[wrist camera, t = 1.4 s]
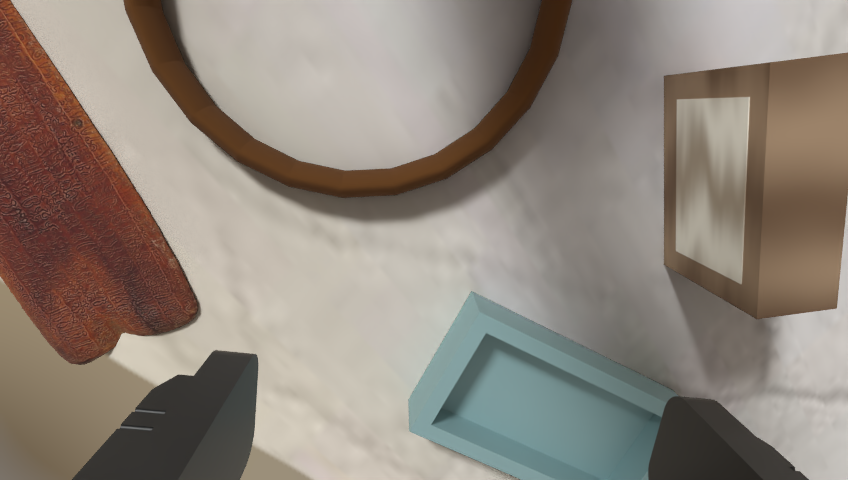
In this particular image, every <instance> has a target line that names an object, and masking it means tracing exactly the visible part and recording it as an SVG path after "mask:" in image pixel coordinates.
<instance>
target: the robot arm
mask: <svg viewBox="0 0 848 480" xmlns="http://www.w3.org/2000/svg"><path fill="white" fill-rule="evenodd" d="M257 379H258V357H257V355H256V354H249V353H238V352H228V351H218V350H215V351H213V352H212V353H211V355H210V356H209V357H208V358H207V360H206V361H205V362H204V364H203V365H202V366H201V367H200V369H199V370H198V371H197V373H196V374H195V375H194V376H188V375H177V376H175V377H173V378H172V379H170V380H168V381H166V382H164V383H163V384H161V385H159V386H157V387H155V388H154V389H152V390H151V391H150V393H149V394H148V395H147V396H146V397H145V398H144V399H143V400H142V402H141V403H140V404H139V405H138V406H137V407H136V409H135V412H132V413H131V414H130V415H129V416H128V417H127V418H126V419H125V421H124V422H123V423H122V424H121V427H120V429H116V431H115V432H114V433H113V434H112V435H111V436H110V437H109V438H108V440H107V441H106V442H105V443H104V444H103V445H102V446H101V447H100V449H99V450H98V451H97V452H96V453H95V454H94V455H93V456H92V458H91V459H90V460H89V461H88V462H87V463H86V464H85V465H84V466H83V468H82V469H81V470H80V471H79V472H78V473H77V474H76V475H75V477H74V478H73V479H72V480H240V478H241V476H242V474H243V471H244V469H245V467H246V464H247V461H248V458H249V455H250V451H251V447H252V442H253V437H254V428H255V412H256V395H257ZM648 479H649V480H809V479H808V478H806V477H805V476H804V475H803V474H802V473H801V472H800V471H795V467H794V466H793V465H792V464H791V463H790V462H789V461H787V460H786V459H785V458H784V457H783V456H782V455H781V454H780V453H779V452H777V451H776V450H775V449H774V448H773V447H772V446H770V445H769V444H767V443H765V442H764V441H762V440H761V439H759V438H757V437H756V436H755V435H753V434H752V433H751V432H750V431H749V430H748V429H747V428H746V427H745V426H744V425H742V424H741V423H740V422H739V421H738V420H737V419H736V418H735V417H734V416H733V415H731V414H730V413H729V412H728V411H727V410H726V409H725V408H724V407H723V406H722V405H721V404H719V403H718V402H717V401H715V400H711V399H701V398H690V397H680V396H674V397H672V398H670V399H669V400H668V402H667V403H666V405H665V408H664V411H663V415H662V419H661V422H660V426H659V429H658V433H657V436H656V440H655V443H654V447H653V451H652V454H651V458H650V461H649V467H648Z"/></svg>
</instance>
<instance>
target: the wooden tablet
mask: <svg viewBox="0 0 848 480" xmlns="http://www.w3.org/2000/svg"><path fill="white" fill-rule="evenodd" d="M0 277H1V278H2V279H3V281H4V282H5V284H6V285H7V286H8V287H9V289H10V291H11V292H12V293H13V294H14V296H15V297H16V299H17V301H18V302H19V303H20V304H21V306H22V308H23V309H24V311H25V312H26V313H27V315H28V316H29V317H30V319H31V320H32V321H33V323H34V324H35V325H36V327H37V328H38V329H39V330H40V332H41V334H42V335H43V336H44V338H45V339H46V340H47V342H48V343H49V344H50V345H51V346H52V347H53V348H54V349H55V350H56V351H57V353H58V354H59V355H60V356H61V357H63V358H64V359H65V360H66V361H68V362H69V363H71V364H79V365H82V364H87V363H90V362H92V361H93V360H95V359H96V358H99V357H100V356H102V355H104V354H105V353H107V352H108V351H110V350H111V349H113V348H114V347H115V346H116V344H117V342H118V340H119V338H120V336H121V334H122V333H125V332H126V333H129V334H135V335H141V336H144V335H153V334H159V333H163V332H168V331H170V330H174V329H176V328H179V327H181V326H183V325H185V324H187V323H189V322H190V321H192V320H193V319H194V318H195V315H196V312H197V310H198V307H197V301H196V300H195V298H194V296H193V293H192V292H191V290H190V287H189V285H188V283H187V281H186V278H185V277H184V275H183V272H182V270H181V268H180V267H179V264H178V262H177V260H176V259H175V257H174V255H173V253H172V252H171V250H170V248H169V247H168V245H167V243H166V241H165V239H164V237H163V236H162V234H161V232H160V229H159V228H158V226H157V224H156V223H155V221H154V220H153V218H152V216H151V214H150V213H149V211H148V209H147V207H146V206H145V204H144V203H143V201H142V199H141V198H140V196H139V195H138V193H137V192H136V190H135V189H134V187H133V185H132V184H131V182H130V181H129V179H128V177H127V176H126V174H125V172H124V171H123V169H122V168H121V166H120V165H119V163H118V162H117V160H116V158H115V156H114V155H113V153H112V152H111V150H110V149H109V147H108V146H107V144H106V143H105V141H104V140H103V139H102V137H101V136H100V134H99V133H98V131H97V130H96V128H95V127H94V126H93V124H92V122H91V121H90V119H89V118H88V116H87V115H86V113H85V112H84V110H83V109H82V107H81V106H80V104H79V102H78V101H77V99H76V98H75V96H74V95H73V93H72V91H71V90H70V88H69V87H68V86H67V84H66V83H65V81H64V80H63V78H62V77H61V75H60V74H59V72H58V71H57V69H56V68H55V66H54V65H53V63H52V62H51V60H50V59H49V57H48V56H47V54H46V53H45V51H44V50H43V48H42V47H41V46H40V44H39V43H38V42H37V40H36V38H35V37H34V35H33V34H32V32H31V31H30V29H29V28H28V26H27V25H26V23H25V22H24V20H23V19H22V17H21V16H20V14H19V13H18V11H17V10H16V9H15V7H14V6H13V4H12V3H11V1H10V0H0Z"/></svg>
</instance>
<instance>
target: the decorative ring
mask: <svg viewBox="0 0 848 480" xmlns="http://www.w3.org/2000/svg"><path fill="white" fill-rule="evenodd" d="M571 4H572V0H542V2H541V6H540V10H539V14H538V18H537V22H536V26H535V30H534V34H533V38H532V42H531V46H530V49H529V51H528V53H527V55H526V57H525V59H524V61H523V62H522V64H521V66H520V68H519V70H518V72H517V74H516V76H515V78H514V80H513V82H512V83H511V85H510V87H509V89H508V91H507V93H506V94H505V95H504V96H503V97H502V98H501V99H500V101H499V102H498V103H497V104H496V105H495V106H494V107H493V108H492V109H491V111H490V112H489V113H488V114H487V115H486V116H485V117H484V118H483V119H482V121H481V122H480V123H479V124H478V125H477V126H476V127H475V128H474V129H473V130H471V131H470V132H468V133H467V134H465V135H464V136H462V137H461V138H459V139H458V140H456V141H455V142H453V143H451V144H450V145H448V146H447V147H445V148H444V149H442V150H441V151H439V152H438V153H436V154H434V155H431V156H428V157H425V158H422V159H419V160H416V161H413V162H410V163H407V164H404V165H401V166H397V167H394V168H391V169H372V170H352V171H343V170H339V169H334V168H329V167H325V166H320V165H315V164H311V163H306V162H301V161H298V160H296V159H294V158H292V157H290V156H288V155H286V154H284V153H282V152H280V151H278V150H276V149H274V148H272V147H270V146H268V145H266V144H264V143H262V142H260V141H258V140H256V139H254V138H253V137H252V136H251V135H250V134H248V133H247V132H246V131H245V130H244V129H243V128H241V127H240V126H239V125H238V124H237V123H235V122H234V121H233V120H232V119H231V118H230V117H228V116H227V115H226V114H225V113H224V112H223V111H221V110H220V109H219V108H218V107H217V106H216V105H215V104H214V103H213V101H212V100H211V98H210V97H209V96H208V94H207V93H206V92H205V90H204V89H203V88H202V86H201V85H200V83H199V82H198V81H197V79H196V78H195V77H194V75H193V74H192V73H191V71H190V70H189V68H188V67H187V66H186V64H185V63H184V60H183V58H182V56H181V53H180V51H179V49H178V46H177V44H176V42H175V39H174V37H173V34H172V32H171V30H170V27H169V25H168V23H167V20H166V18H165V16H164V13H163V9H162V3H161V0H124V5H125V10H126V13H127V15H128V17H129V20H130V22H131V24H132V26H133V29H134V31H135V33H136V35H137V38H138V40H139V42H140V44H141V47H142V49H143V51H144V53H145V56H146V58H147V60H148V62H149V65H150V67H151V69H152V71H153V73H154V74H155V76H156V77H157V78H158V80H159V81H160V82H161V84H162V85H163V86H164V88H165V89H166V90H167V92H168V93H169V94H170V96H171V97H172V98H173V99H174V101H175V102H176V103H177V105H178V106H179V107H180V109H181V110H182V111H183V113H184V114H185V115H186V117H187V118H188V119H189V121H190V122H191V123H192V124H193V125H194V126H196V127H197V128H198V129H199V130H200V131H202V132H203V133H204V134H205V135H206V136H208V137H209V138H210V139H211V140H212V141H214V142H215V143H216V144H217V145H218V146H220V147H221V148H222V149H223V150H224V151H226V152H227V153H228V154H229V155H230V156H232V157H233V158H234V159H235V160H236V161H238V162H240V163H242V164H244V165H246V166H248V167H250V168H252V169H254V170H256V171H258V172H260V173H262V174H264V175H266V176H268V177H270V178H273V179H275V180H277V181H279V182H281V183H283V184H285V185H287V186H289V187H294V188H298V189H303V190H308V191H313V192H317V193H322V194H327V195H332V196H337V197H341V198H347V197H367V196H386V195H398V194H401V193H404V192H407V191H410V190H413V189H416V188H419V187H422V186H425V185H429V184H432V183H435V182H438V181H441V180H444V179H447V178H448V177H450V176H451V175H453V174H455V173H456V172H458V171H459V170H461V169H462V168H464V167H465V166H467V165H468V164H470V163H472V162H473V161H475V160H476V159H478V158H479V157H481V156H482V155H484V154H485V153H487V152H488V151H490V150H492V149H493V148H494V147H495V145H496V144H497V143H498V142H499V141H500V140H501V139H502V138H503V137H504V136H505V135H506V133H507V132H508V131H509V130H510V129H511V128H512V127H513V126H514V125H515V124H516V122H517V121H518V120H519V119H520V118H521V117H522V116H523V115H524V114H525V113H526V112H527V110H528V109H529V108H530V107H531V105H532V103H533V101H534V99H535V98H536V96H537V94H538V92H539V90H540V88H541V86H542V84H543V83H544V81H545V79H546V77H547V75H548V73H549V71H550V70H551V68H552V66H553V64H554V62H555V60H556V58H557V57H558V54H559V50H560V46H561V42H562V38H563V35H564V31H565V27H566V23H567V19H568V15H569V12H570V8H571Z"/></svg>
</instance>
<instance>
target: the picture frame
mask: <svg viewBox="0 0 848 480" xmlns="http://www.w3.org/2000/svg"><path fill="white" fill-rule="evenodd" d="M847 195H848V53H842V54H834V55H826V56H818V57H810V58H802V59H794V60H786V61H778V62H770V63H762V64H754V65H746V66H738V67H730V68H722V69H715V70H707V71H699V72H691V73H683V74H676V75H668V76H664V265H666V266H667V267H669V268H671V269H672V270H674V271H676V272H678V273H679V274H681V275H683V276H684V277H686V278H688V279H689V280H691V281H693V282H695V283H696V284H698V285H700V286H701V287H703V288H705V289H706V290H708V291H710V292H712V293H713V294H715V295H717V296H718V297H720V298H722V299H723V300H725V301H727V302H729V303H730V304H732V305H734V306H735V307H737V308H739V309H740V310H742V311H744V312H746V313H747V314H749V315H751V316H752V317H754V318H756V319H762V318H769V317H776V316H784V315H791V314H799V313H806V312H813V311H821V310H828V309H835V308H837V300H838V289H839V279H840V269H841V258H842V248H843V237H844V227H845V216H846V206H847Z"/></svg>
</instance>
